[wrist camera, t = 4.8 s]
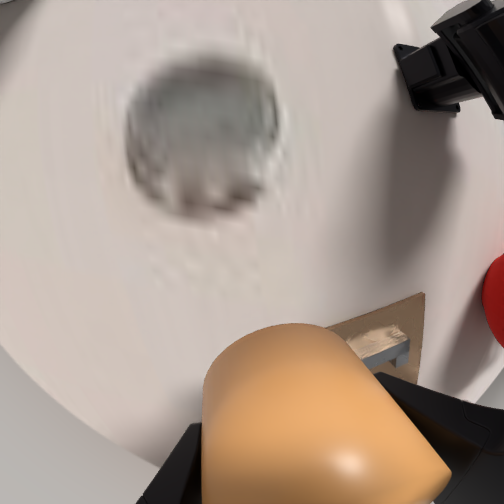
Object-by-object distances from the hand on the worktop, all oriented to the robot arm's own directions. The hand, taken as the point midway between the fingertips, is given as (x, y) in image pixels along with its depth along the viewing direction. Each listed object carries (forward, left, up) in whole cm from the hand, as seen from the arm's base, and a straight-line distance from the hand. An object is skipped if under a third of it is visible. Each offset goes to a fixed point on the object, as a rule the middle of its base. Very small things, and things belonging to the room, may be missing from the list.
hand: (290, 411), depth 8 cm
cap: (0, 0, -1) cm, 1 cm away
